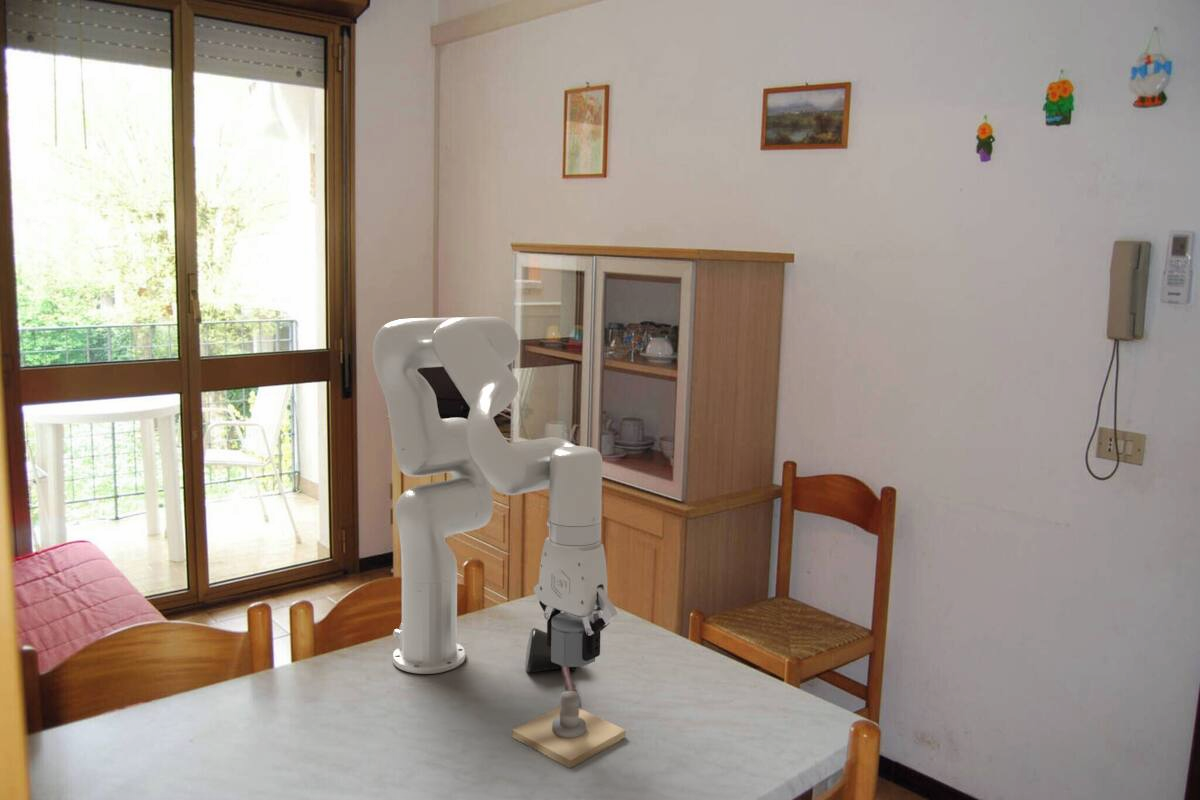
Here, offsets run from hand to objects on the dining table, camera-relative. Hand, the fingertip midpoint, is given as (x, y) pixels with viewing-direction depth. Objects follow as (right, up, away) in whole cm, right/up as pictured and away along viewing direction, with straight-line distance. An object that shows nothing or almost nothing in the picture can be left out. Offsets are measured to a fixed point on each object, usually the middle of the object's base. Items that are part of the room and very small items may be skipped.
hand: (573, 649), depth 135 cm
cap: (0, -1, 0) cm, 1 cm away
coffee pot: (-4, -11, +20) cm, 24 cm away
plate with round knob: (-1, -14, +2) cm, 14 cm away
